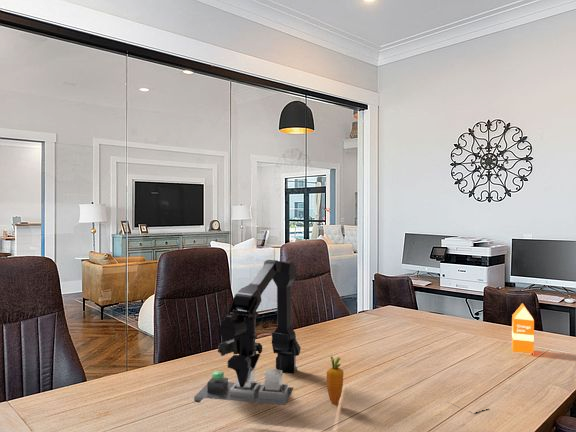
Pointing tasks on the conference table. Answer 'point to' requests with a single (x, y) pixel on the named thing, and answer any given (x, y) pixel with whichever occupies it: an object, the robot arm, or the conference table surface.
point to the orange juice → (522, 331)
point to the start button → (217, 375)
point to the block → (273, 380)
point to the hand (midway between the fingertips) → (245, 382)
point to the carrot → (335, 381)
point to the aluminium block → (248, 381)
